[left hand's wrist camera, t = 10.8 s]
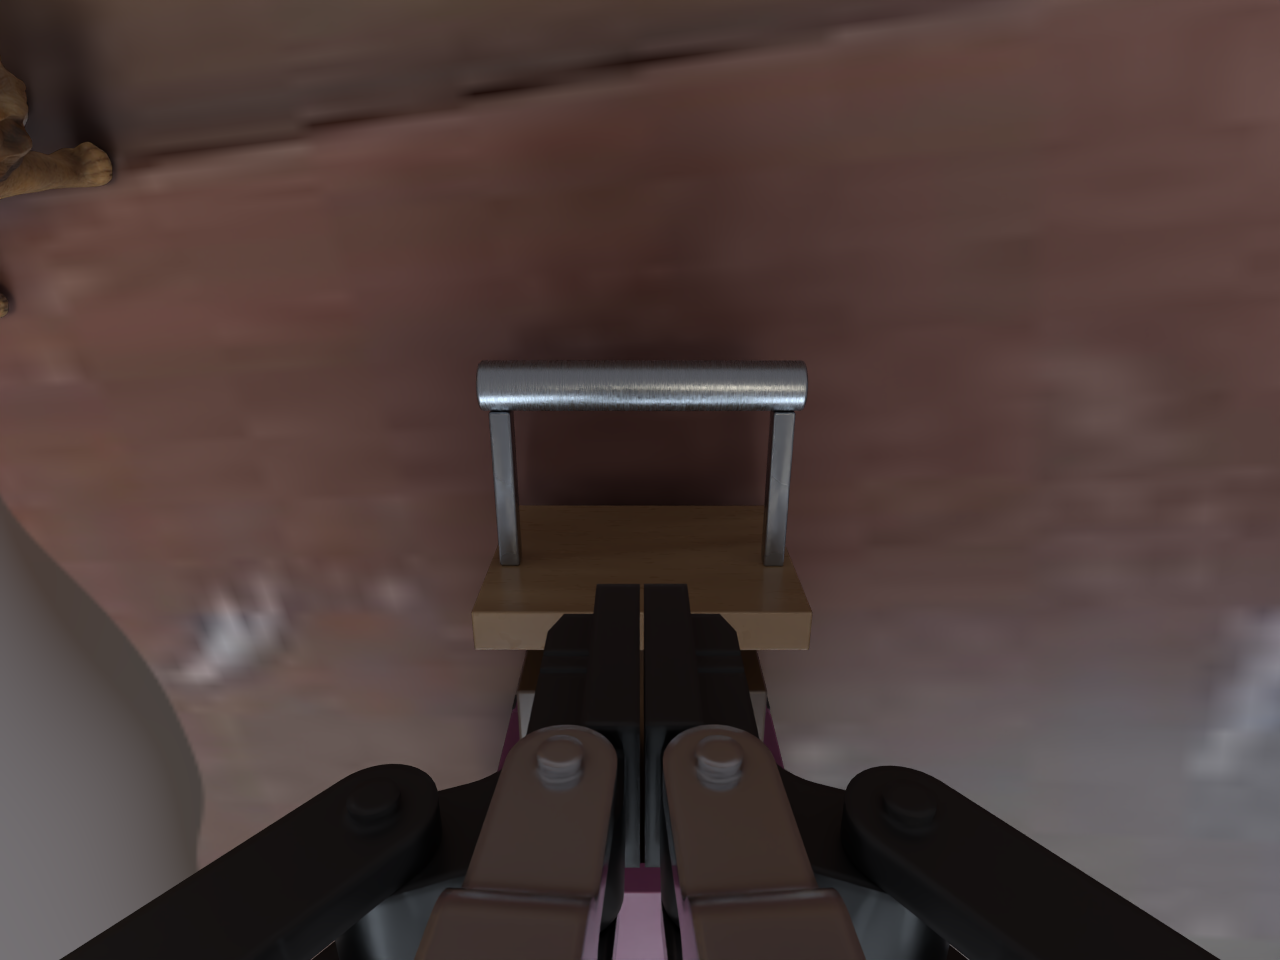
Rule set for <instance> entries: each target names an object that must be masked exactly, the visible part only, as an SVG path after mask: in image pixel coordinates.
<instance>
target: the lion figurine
mask: <svg viewBox="0 0 1280 960" xmlns="http://www.w3.org/2000/svg"><path fill="white" fill-rule="evenodd" d="M25 90H26V85H25V84H24V82H23V81H21V80H20V79H18V78H16V77H15V76H14V75H13V74H11V73H10V72H9V71H8V70H7V69H6V68H5V67H4V66H3V64H2V62H1V56H0V199H2V198H6V197H11V196H15V195H19V194H24V193H33V192H39V191H44V190H48V189H57V188H75V187H95V186H102V185H105V184H107V183H108V182H109V181H110V180H111V179H112V164H111V161H110V159H109V157H108V156H107V154H106V153H105V152H104V151H103V150H101V149H99V148H98V147H96V146H95V145H94V144H92V143H90V142H84V143H81V144H80V145H78V146H77V147H75V148H63V149H60V150H58V151H56V152H53V153H51V154H49V155H46V154H43V153H40V152H35V151H30V149H31V148H32V141H31V138H30V137H29V135H28V134H27V132H26V130H25V128H24V126H25V124H26V122H27V119H28V105H27V104H26V103H27V97H26V92H25ZM8 308H9V306H8V301H7V299H6V297H5V296H4V295H3V294H2V293H0V318H1V317H3V316H5V315H6V314H7V313H8Z"/></svg>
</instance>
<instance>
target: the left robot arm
mask: <svg viewBox="0 0 1280 960" xmlns="http://www.w3.org/2000/svg"><path fill="white" fill-rule="evenodd" d="M644 815H645V867H660V879H661V934H662V943H663V953H664V960H968V959H969V960H1220V959H1218V958H1217V957H1215V956H1214V955H1212V954H1211V953H1209V952H1208V951H1206V950H1204V949H1203V948H1201V947H1200V946H1198V945H1197V944H1195V943H1193V942H1192V941H1190V940H1189V939H1187V938H1186V937H1184V936H1182V935H1181V934H1179V933H1178V932H1176V931H1175V930H1173V929H1171V928H1170V927H1168V926H1167V925H1165V924H1164V923H1162V922H1161V921H1159V920H1157V919H1156V918H1154V917H1153V916H1151V915H1150V914H1148V913H1146V912H1145V911H1143V910H1142V909H1140V908H1139V907H1137V906H1135V905H1134V904H1132V903H1131V902H1129V901H1128V900H1126V899H1125V898H1123V897H1121V896H1120V895H1118V894H1117V893H1115V892H1114V891H1112V890H1110V889H1109V888H1107V887H1106V886H1104V885H1103V884H1101V883H1099V882H1098V881H1096V880H1095V879H1093V878H1092V877H1090V876H1088V875H1087V874H1085V873H1084V872H1082V871H1081V870H1079V869H1078V868H1076V867H1074V866H1073V865H1071V864H1070V863H1068V862H1067V861H1065V860H1063V859H1062V858H1060V857H1059V856H1057V855H1056V854H1054V853H1052V852H1051V851H1049V850H1048V849H1046V848H1045V847H1043V846H1042V845H1040V844H1038V843H1037V842H1035V841H1034V840H1032V839H1031V838H1029V837H1027V836H1026V835H1024V834H1023V833H1021V832H1020V831H1018V830H1016V829H1015V828H1013V827H1012V826H1010V825H1009V824H1007V823H1005V822H1004V821H1002V820H1001V819H999V818H998V817H996V816H995V815H993V814H991V813H990V812H988V811H987V810H985V809H984V808H982V807H980V806H979V805H977V804H976V803H974V802H973V801H971V800H969V799H968V798H966V797H965V796H963V795H962V794H960V793H959V792H957V791H955V790H954V789H952V788H951V787H949V786H948V785H946V784H944V783H943V782H941V781H939V780H938V779H936V778H934V777H932V776H930V775H928V774H926V773H923V772H921V771H917V770H914V769H911V768H906V767H900V766H879V767H873V768H870V769H867V770H864V771H862V772H861V773H859V774H857V775H856V776H855V777H854V778H853V779H852V780H851V781H850V783H849V784H848V786H847V789H846V790H842V789H838V788H834V787H830V786H826V785H822V784H818V783H814V782H811V781H808V780H805V779H802V778H800V777H798V776H795V775H793V774H792V773H790V772H788V771H786V770H785V769H783V768H782V767H781V766H779V765H778V764H777V763H776V762H775V759H774V757H773V755H772V752H771V751H770V750H769V748H768V747H767V746H766V745H765V744H764V743H763V742H762V741H761V740H760V738H759V734H758V729H757V725H756V720H755V715H754V711H753V706H752V702H751V697H750V692H749V688H748V683H747V679H746V674H745V673H744V665H743V660H742V656H741V651H740V646H739V642H738V637H737V632H736V630H735V629H734V628H733V627H732V626H731V625H730V624H729V623H728V622H727V621H726V620H725V619H724V618H723V617H722V616H721V615H720V614H691V611H690V602H689V594H688V586H687V584H644ZM625 868H640V584H597V585H596V593H595V602H594V611H593V614H563V616H562V617H561V618H560V619H559V620H558V621H557V622H556V623H555V624H554V625H553V626H552V627H551V628H550V629H549V631H548V632H547V637H546V642H545V647H544V652H543V656H542V661H541V666H540V673H539V676H538V681H537V685H536V690H535V695H534V700H533V705H532V709H531V714H530V719H529V724H528V729H527V734H526V736H525V737H523V738H522V739H520V740H519V741H518V742H517V743H516V744H515V745H514V746H513V747H512V748H511V750H510V751H509V752H508V755H507V757H506V759H505V762H504V765H503V768H502V769H501V770H499V771H498V772H496V773H494V774H492V775H491V776H488V777H486V778H484V779H481V780H479V781H475V782H472V783H469V784H465V785H461V786H457V787H453V788H449V789H445V790H441V791H437V788H436V785H435V783H434V781H433V780H432V778H431V777H430V776H429V775H428V774H426V773H425V772H423V771H422V770H420V769H418V768H415V767H412V766H408V765H403V764H385V765H378V766H373V767H369V768H366V769H363V770H360V771H358V772H355V773H353V774H351V775H349V776H347V777H345V778H344V779H342V780H340V781H339V782H337V783H336V784H334V785H332V786H331V787H329V788H328V789H326V790H325V791H323V792H322V793H320V794H318V795H317V796H315V797H314V798H312V799H311V800H309V801H307V802H306V803H304V804H303V805H301V806H300V807H298V808H296V809H295V810H293V811H292V812H290V813H289V814H287V815H285V816H284V817H282V818H281V819H279V820H278V821H276V822H275V823H273V824H271V825H270V826H268V827H267V828H265V829H264V830H262V831H260V832H259V833H257V834H256V835H254V836H253V837H251V838H249V839H248V840H246V841H245V842H243V843H242V844H240V845H239V846H237V847H235V848H234V849H232V850H231V851H229V852H228V853H226V854H224V855H223V856H221V857H220V858H218V859H217V860H215V861H213V862H212V863H210V864H209V865H207V866H206V867H204V868H202V869H201V870H199V871H198V872H196V873H195V874H193V875H192V876H190V877H188V878H187V879H185V880H184V881H182V882H181V883H179V884H178V885H176V886H174V887H173V888H171V889H170V890H168V891H166V892H165V893H163V894H162V895H160V896H159V897H157V898H156V899H154V900H152V901H151V902H149V903H148V904H146V905H145V906H143V907H141V908H140V909H138V910H137V911H135V912H134V913H132V914H131V915H129V916H127V917H126V918H124V919H123V920H121V921H120V922H118V923H116V924H115V925H113V926H112V927H110V928H109V929H107V930H105V931H104V932H102V933H101V934H99V935H98V936H96V937H94V938H93V939H91V940H90V941H88V942H87V943H85V944H84V945H82V946H80V947H79V948H77V949H76V950H74V951H73V952H71V953H69V954H68V955H66V956H65V957H63V958H62V959H60V960H311V959H312V958H313V957H314V956H316V955H317V954H318V953H319V952H321V951H322V950H323V949H324V948H326V947H327V946H328V945H329V944H330V943H332V942H333V941H334V940H335V942H333V943H332V944H331V945H330V946H328V947H327V948H326V949H325V950H323V951H322V952H321V953H320V954H318V955H317V956H316V957H315V958H313V959H312V960H616V953H617V943H618V934H619V911H620V909H621V907H622V904H623V899H624V882H625ZM950 944H951V945H952V946H953V947H955V948H956V949H957V950H958V951H959V952H961V953H962V954H963V955H964V956H966V957H967V958H968V959H967V958H965V957H964V956H963V955H962V954H960V953H959V952H958V951H957V950H955V949H954V948H953V947H952V946H950Z"/></svg>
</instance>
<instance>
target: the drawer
mask: <svg viewBox="0 0 1280 960" xmlns="http://www.w3.org/2000/svg"><path fill="white" fill-rule="evenodd" d="M476 392H477V399H478V404H479V406H480V408H481V410H484V411H490V412H489V425H490V439H491V452H492V465H493V479H494V492H495V505H496V518H497V532H498V547H497V549H496V552H495V554H494V557H493V559H492V562H491V564H490V567H489V569H488V572H487V574H486V577H485V579H484V582H483V584H482V587H481V590H480V592H479V595H478V597H477V600H476V602H475V605H474V607H473V610H472V612H471V615H472V626H473V636H474V647H475V649H476V650H527V651H526V655H525V659H524V663H523V667H522V671H521V675H520V679H519V683H518V687H517V691H516V694H517V708H518V722H519V736H520V739H522V738H523V737H525V736H526V734H527V729H528V724H529V719H530V714H531V709H532V705H533V700H534V695H535V690H536V685H537V681H538V676H539V673H540V666H541V661H542V656H543V652H544V647H545V642H546V637H547V632H548V631H549V629H550V628H551V627H552V626H553V625H554V624H555V623H556V622H557V621H558V620H559V619H560V618H561V617H562V616H563V614H593V611H594V602H595V593H596V585H597V584H640V863H645V815H644V584H687V586H688V594H689V602H690V611H691V614H720V615H721V616H722V617H723V618H724V619H725V620H726V621H727V622H728V623H729V624H730V625H731V626H732V627H733V628H734V629H735V630H736V632H737V637H738V642H739V646H740V651H741V656H742V660H743V665H744V673H745V674H746V679H747V683H748V688H749V692H750V697H751V702H752V706H753V711H754V715H755V720H756V725H757V729H758V734H759V738H760V740H761V741H762V742H763V741H764V728H765V714H766V701H767V689H766V685H765V681H764V677H763V673H762V669H761V665H760V661H759V657H758V653H757V650H808V649H809V644H810V634H811V623H812V610H811V608H810V606H809V603H808V601H807V598H806V596H805V593H804V591H803V588H802V586H801V583H800V581H799V578H798V576H797V573H796V571H795V568H794V566H793V563H792V561H791V559H790V556H789V554H788V551H787V549H786V546H785V541H786V528H787V515H788V502H789V490H790V477H791V464H792V452H793V439H794V426H795V412H794V411H801V410H803V409H804V407H805V404H806V400H807V393H808V373H807V368H806V364H805V362H804V361H656V360H482V361H480V362H479V364H478V368H477V374H476ZM513 411H770V426H769V442H768V457H767V472H766V487H765V502H764V506H519V495H518V479H517V463H516V447H515V431H514V415H513Z"/></svg>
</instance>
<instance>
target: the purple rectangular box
mask: <svg viewBox="0 0 1280 960" xmlns="http://www.w3.org/2000/svg"><path fill="white" fill-rule="evenodd" d="M512 710H513V711H512V714H511V718H510V722H509V726H508V730H507V734H506V738H505V743H504V747H503V751H502V755H501V759H500V763H499V767H498V771H499V770H501V769H502V768H503V765H504V762H505V759H506V757H507V755H508V752H509V751H510V750H511V748H512V747H513V746H514V745H515V744H516V743H517V742H518V741H519V740H520V736H519V722H518V708H517V695H515V699H514V703H513V707H512ZM763 743H764V744H765V745H766V746H767V747H768V748H769V750H770V751H771V752H772V755H773V757H774V759H775V762H776V763H777V764H778V765H779V766H781V767H782V768H783V769H784V766H783V762H782V758H781V754H780V750H779V746H778V742H777V738H776V733H775V729H774V725H773V721H772V717H771V714H770V706H769V702H768V698H767V701H766V714H765V728H764V741H763ZM498 771H497V772H498ZM616 960H664V953H663V943H662V934H661V879H660V867H645V863H640V868H625V882H624V899H623V904H622V907H621V909H620V911H619V934H618V943H617V953H616Z"/></svg>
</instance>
